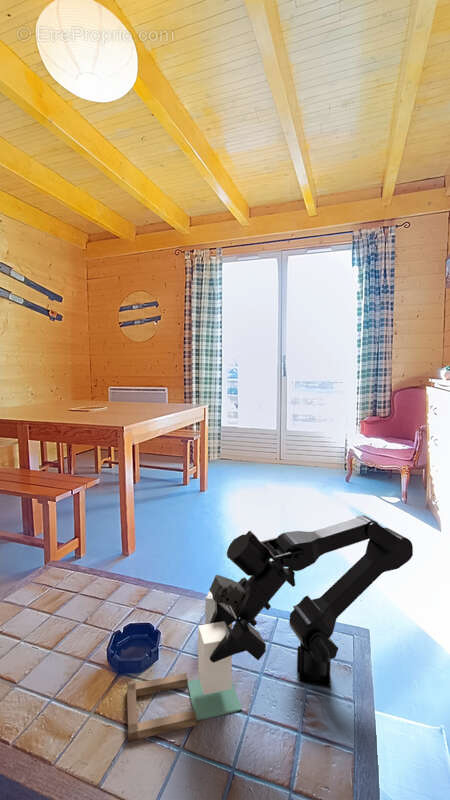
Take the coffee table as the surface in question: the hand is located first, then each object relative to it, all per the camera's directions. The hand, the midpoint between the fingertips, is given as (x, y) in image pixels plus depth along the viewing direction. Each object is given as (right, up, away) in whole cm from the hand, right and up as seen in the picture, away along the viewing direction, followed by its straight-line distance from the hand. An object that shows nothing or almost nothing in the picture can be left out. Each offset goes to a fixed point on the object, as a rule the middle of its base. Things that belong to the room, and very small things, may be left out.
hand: (207, 650), depth 73 cm
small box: (+2, -9, +20) cm, 22 cm away
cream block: (+1, -7, +1) cm, 7 cm away
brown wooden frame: (-9, -10, -2) cm, 13 cm away
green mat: (+1, -10, +1) cm, 10 cm away
